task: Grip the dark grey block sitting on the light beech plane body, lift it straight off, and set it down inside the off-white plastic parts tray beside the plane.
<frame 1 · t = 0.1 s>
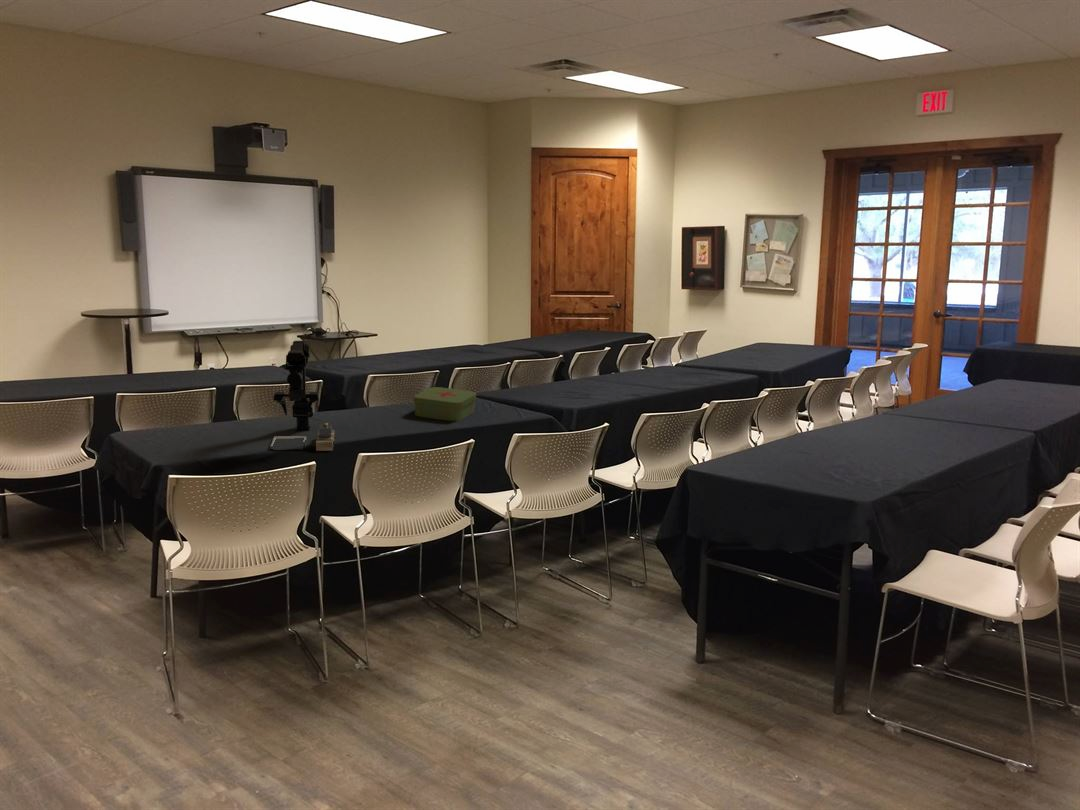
hand: (297, 415, 386), 15 cm above the table, fingers open, 9 cm apart
first aid kit: (445, 413, 455), on the table
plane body: (325, 444, 395), on the table
parts tray: (288, 444, 392), on the table
dark grey block: (325, 435, 394), point 4 cm above the table, touching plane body
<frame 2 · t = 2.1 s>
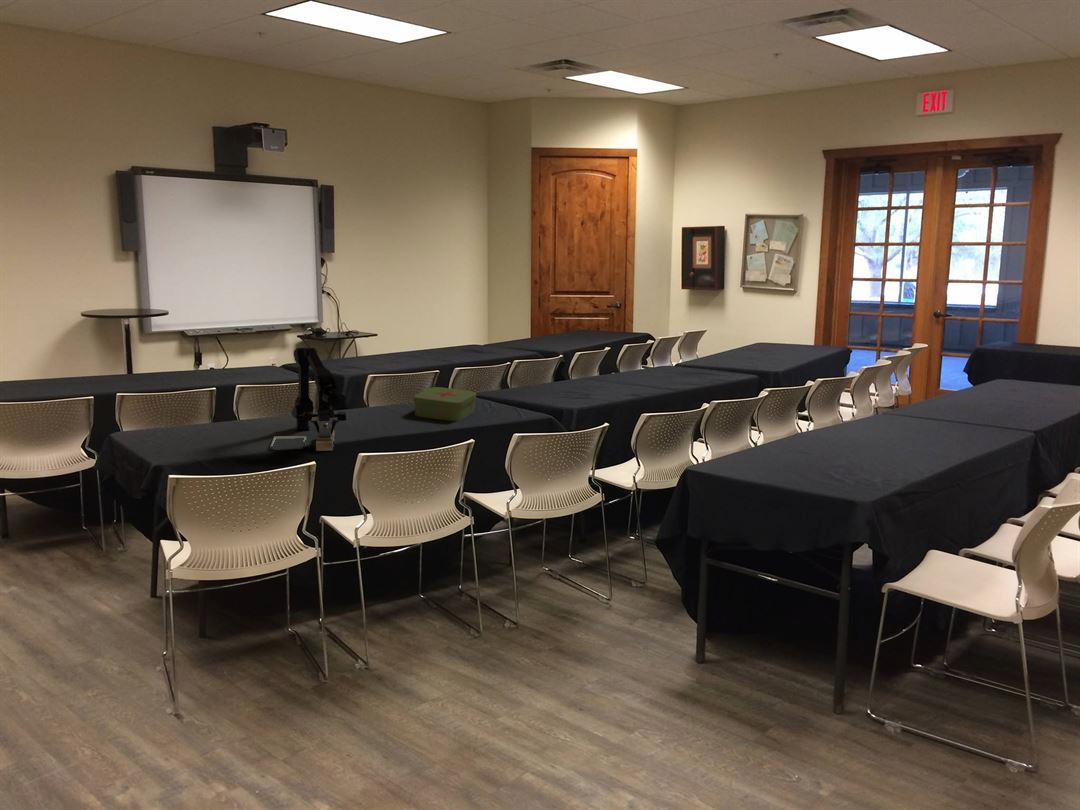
hand: (325, 434, 394), 5 cm above the table, fingers closed on dark grey block, 5 cm apart
dark grey block: (325, 435, 394), point 4 cm above the table, touching gripper, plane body
everything else where it was.
when the fingers open (3 cm above the table, at t = 6.6 s): dark grey block drops 2 cm, resting on parts tray.
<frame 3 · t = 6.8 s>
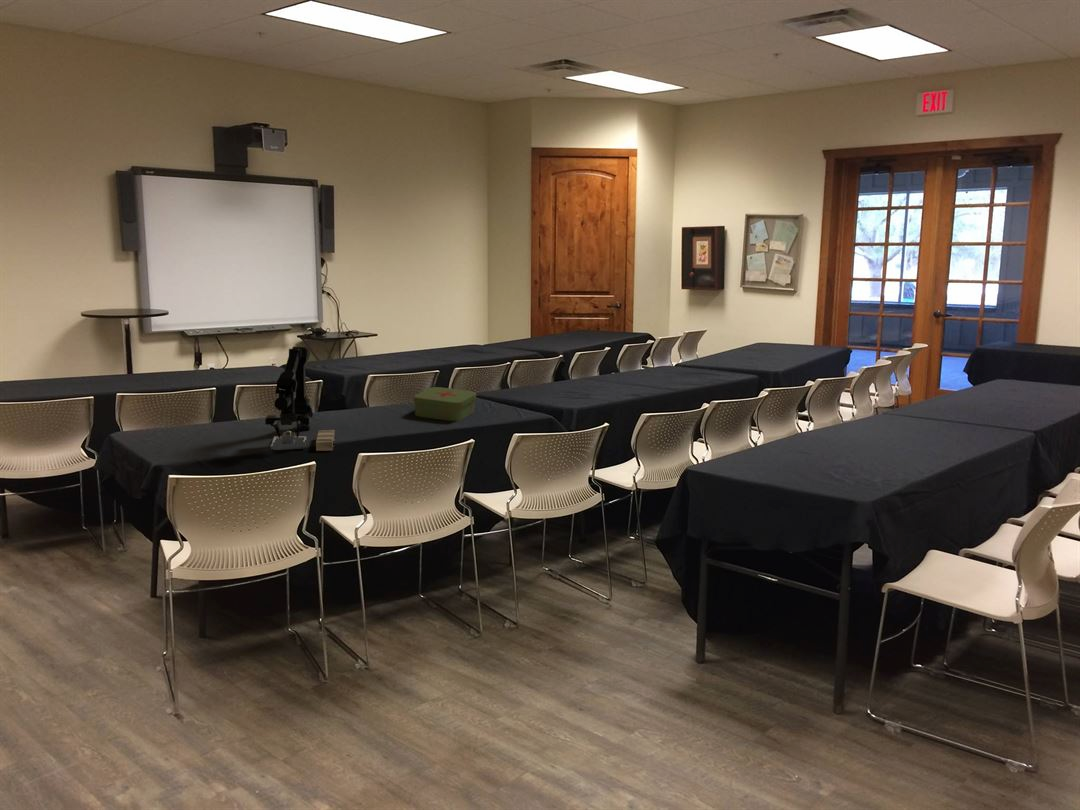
hand: (288, 438, 391), 3 cm above the table, fingers open, 7 cm apart
dark grey block: (288, 443, 392), resting on parts tray
everything else where it was.
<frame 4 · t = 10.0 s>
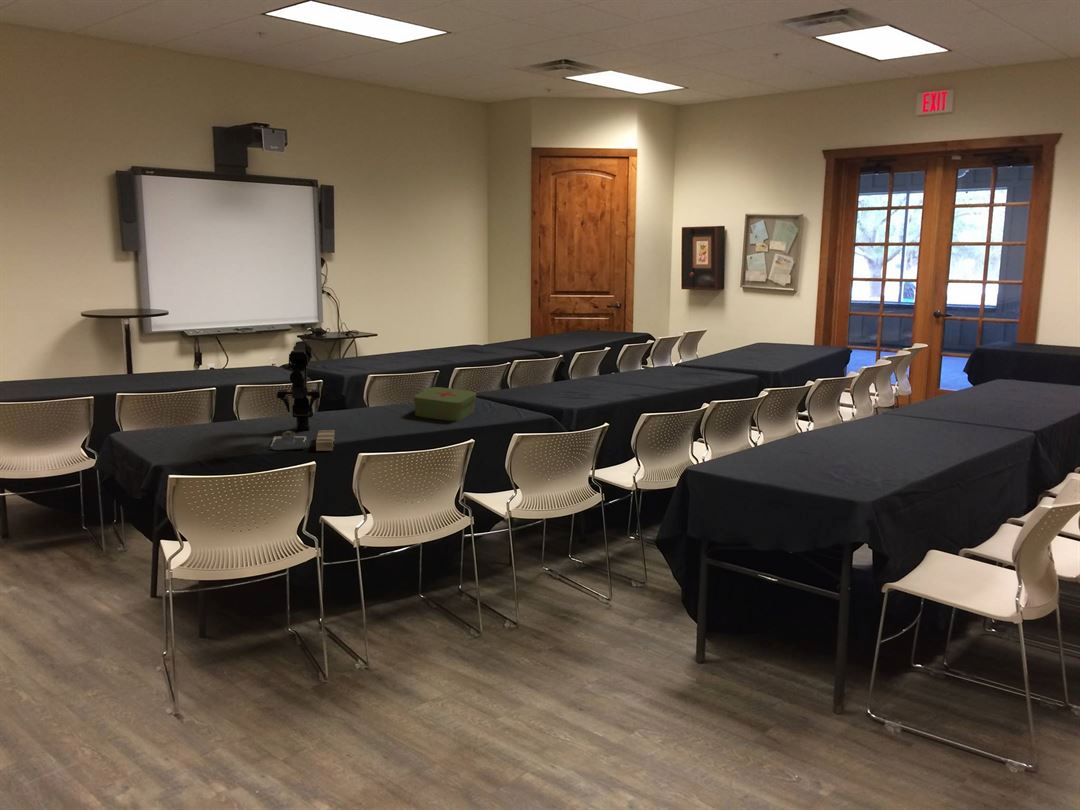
hand: (299, 412, 400), 12 cm above the table, fingers open, 9 cm apart
nothing on the table moved.
at the end: dark grey block inside the target area on the parts tray (0.0 cm from its centre), point 0.5 cm above the parts tray's base; dark grey block tilted 0°; the gripper is holding nothing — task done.
